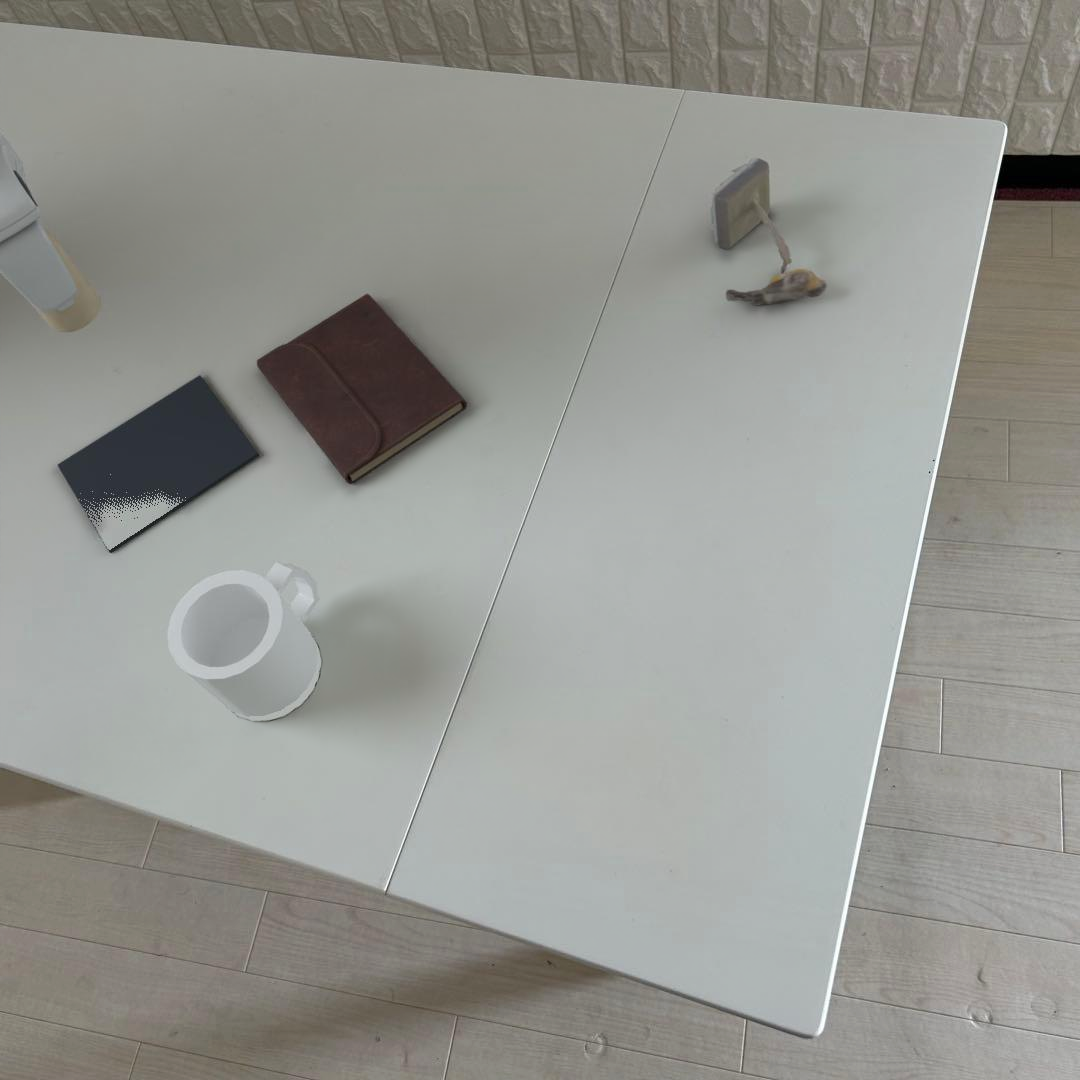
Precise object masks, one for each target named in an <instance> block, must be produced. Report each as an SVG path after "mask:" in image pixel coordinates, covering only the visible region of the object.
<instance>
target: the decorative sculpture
mask: <svg viewBox="0 0 1080 1080" xmlns="http://www.w3.org/2000/svg"><path fill="white" fill-rule="evenodd" d="M731 172H732V174H731V175H730V176H728V178H726V179H725V180H724V181H722V182H721V183H720V184H719V186H718V187H716V188H715V189H714V192H713V194H712V196H711V206H710V217H711V224H712V227H711V230H710V232H711V234H712V239H713V241H714V242H715V244H716V245H717V246H718V247H720V248H721V249H723V250H729V249H730V248H732V247H733V246H734V245H736V244H737V243H738V242H739V241H740V240H742V239H743V238H744V237H745V236H747V234H749V233H750V232H752V230H753V229H754V228H756V227H757V226H758V225H759V224H760V223H761V222H762V224H764V225H765V227H766V228H767V229H768V230H769V232H770V234H771V236H772V238H773V240H774V242H775V244H776V246H777V248H778V253H779V255H780V258H781V259H782V261H783V262H782V265H781V267H780V273H779V274H776V275H775V276H774V277H773V278H771V279H770V281H769V282H768V283H767V285H766V286H765V287H762V288H761V289H755V290H749V291H738V290H736V289H727V290H726V291H725V298H726V301H728V302H730V301H734V302H736V301H742V302H751V303H752V304H753V305H754V306H760V305H764V304H767V305H774V304H778V303H782V302H785V301H789V300H798V299H803V298H805V297H809V298H816V297H819V296H821V295H823V294H824V293H825V292H826V290H827V288H828V287H827V286H828V285H827V282H828V281H827V280H825V279H820V278H819V277H817V275H816V274H815V273H814V272H813V271H812V270H810V269H803V268H798V269H794V270H791V271H789V272H787V269H788V265H790V264H791V263H792V261H793V260H792V258H791V251H790V247H789V246H788V245H787V244H786V241H785V239H784V238H783V237H782V235H780V233H779V231H778V229H777V228H776V226H775V224H774V223H773V221H772V220H771V219H770V217H769V215H770V212H771V202H770V201H771V199H770V198H771V196H770V195H771V194H770V193H771V191H770V165H769V162H767V161H766V160H764V159H761V158H758V157H754V158H751V159H750V160H749V161H748V163H744V164H742V165H741V166H738V167H736V168H733V169H731Z"/></svg>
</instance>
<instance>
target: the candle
mask: <svg viewBox="0 0 1080 1080" xmlns="http://www.w3.org/2000/svg"><path fill="white" fill-rule="evenodd" d="M44 230H45V232H46V233H47V235H48V237H49V239H50V240H51V242H52V244H53V246H54V247H55V249H56V251H57V252H58V254H59V256H60V258H61V259H62V261H63V263H64V265H65V266H66V268H67V270H68V272H69V273H70V275H71V277H72V279H73V281H74V283H75V285H76V287H77V291H78V294H77V296H76V297H75V298H74V304H73V305H71V306H70V307H68V308H66V309H65V310H63V311H59V310H57V309H55V310H54V311H52V312H50V313H44V312H42V311H40V310H38V309H37V308H36V307H35V306H33V305H32V307H33V308H34V310H35V311H37V313H38V314H39V315H40V317H41V318H42V319H43V320H44V321H45V322H46V324H47V325H48V326H49V327H50V328H52V329H53V331H55V332H58V333H73V332H77V331H79V330H81V329H84V328H85V327H87V326H88V325H90V324H91V323H92V322H93V321H94V320H95V319H96V317H97V316H98V314H99V312H100V309H101V300H100V298H99V295H98V294H97V292H96V291H95V289H94V288H93V287H92V285H91V284H90V283H89V281H88V280H87V278H86V277H85V275H83V273H82V272H81V270H80V269H79V268H78V266H77V265H76V264H75V262H74V261H73V260H72V258H71V257H70V256H69V254H68V252H66V250H65V249H64V247H63V246H62V245H61V243H60V242H59V240H58V239H57V238H56V235H54V234H53V232H51V230H49V229H46V228H44Z"/></svg>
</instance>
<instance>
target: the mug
mask: <svg viewBox="0 0 1080 1080" xmlns="http://www.w3.org/2000/svg"><path fill="white" fill-rule="evenodd" d="M292 579H293V580H294V582H295V585H296V589H297V590H296V591H297V594H296V595H295V597H294V598H293V599H292V601H291V602H290V605H289V604H288V603H287V601H286V600H285V599H284V597H283V596H282V593H283V592H284V590H285V589H286V587H287V586H288V585H289V583H290V582H291V581H292ZM319 600H320V596H319V591H318V585H317V581H316V580H315V579H314V578H313V577H312V575H311V574H310V573H309V572H308V570H306V569H304V568H301V567H299V566H297V565H294V564H292V563H288V562H279V561H275V562H274V564H273V565H272V566H271V568H270V570H269V571H268V572H267V573H266V575H265V577H263V576H262V575H260V574H258V573H254V572H251V571H248V570H244V569H241V570H225V571H222V572H219V573H215V574H213V575H209V576H207V577H205V578H204V579H202V580H201V581H199V582H198V583H196V584H195V585H193V586H192V587H191V588H190V589H189V590H188V591H187V592H186V593H185V594H184V595H183V596H182V597H181V598H180V600H179V601H178V602H177V604H176V606H175V607H174V610H173V612H172V613H171V615H170V616H169V617H170V618H169V623H168V628H167V632H166V637H167V646H168V652H169V653H170V655H171V656H172V659H173V660H174V663H175V664H176V665H177V666H178V667H179V668H180V669H181V670H182V671H184V672H185V673H186V674H187V675H188V676H189V677H190V678H192V679H193V680H194V681H195V682H196V683H197V684H198V685H199V686H201V687H202V688H203V689H204V690H205V691H207V692H208V693H209V694H210V695H211V696H212V697H214V699H216V700H217V701H218V702H219V703H220V702H221V703H220V704H221V705H223V706H224V707H225V706H226V707H227V708H228V709H227V708H226V707H225V708H226V709H227V710H229V712H231V711H232V712H234V713H238V714H241V715H244V716H247V717H249V716H265V715H268V714H271V713H274V712H277V711H281V710H282V709H284V708H285V707H286V706H288V705H290V704H291V703H293V702H294V701H296V700H297V699H298V698H299V697H300V695H301V694H302V693H303V692H304V691H305V690H306V689H307V687H308V686H309V684H310V682H311V680H312V678H313V676H314V674H315V672H316V666H317V660H318V652H317V647H316V642H317V641H316V642H315V640H316V639H315V637H314V636H313V634H312V633H311V631H310V630H309V629H308V628H307V626H306V625H305V624H304V623H305V622H306V620H307V619H308V618H309V616H310V614H311V613H312V612H313V610H314V609H315V607H316V605H317V604H318V602H319ZM309 631H310V632H309ZM311 634H312V635H311ZM312 636H313V637H314V638H313V637H312ZM314 639H315V640H314ZM232 712H231V713H232ZM234 713H233V714H234Z"/></svg>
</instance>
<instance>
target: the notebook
mask: <svg viewBox="0 0 1080 1080" xmlns="http://www.w3.org/2000/svg"><path fill="white" fill-rule="evenodd" d="M256 366H257V368H258V370H259V371H260V372H261V373H262V375H263V376H264V377H265V379H266V380H267V381H268V383H269V384H270V385H271V387H272V388H273V389H274V390H275V392H276V393H277V394H278V395H279V397H280V398H281V399H282V401H283V402H284V403H285V405H286V406H287V407H288V409H289V410H290V411H291V412H292V413H293V415H294V416H295V418H296V419H297V420H298V421H299V423H300V424H301V425H302V426H303V428H304V429H305V430H306V432H307V433H308V434H309V435H310V437H311V438H312V439H313V441H314V442H315V443H316V445H317V446H318V447H319V448H320V450H321V451H322V452H323V454H324V455H325V457H327V459H328V460H329V461H330V463H331V465H333V467H334V468H335V469H336V470H337V472H338V473H339V475H340V476H341V477H342V478H343V479H344V481H345V482H346V483H347V484H349V485H353V484H354V483H356V482H358V481H359V480H360V479H362V478H364V477H366V476H367V475H368V474H370V473H371V472H372V471H375V470H376V469H377V468H379V467H380V466H382V465H384V464H385V463H386V462H388V461H390V460H391V459H392V458H394V457H395V456H396V455H399V453H402V452H403V451H404V450H406V449H407V448H409V447H410V446H412V445H413V444H415V443H416V442H418V441H419V440H421V439H422V438H424V437H425V436H428V434H430V433H431V432H433V431H434V430H436V429H438V428H439V427H441V426H442V425H444V424H445V423H447V422H448V421H450V420H451V419H453V418H454V417H456V416H457V415H459V414H460V413H461V412H463V411H465V410H466V409H467V406H468V402H467V400H466V399H464V397H463V396H462V395H461V394H460V392H458V390H456V388H455V387H454V386H453V385H452V384H451V383H450V382H449V380H447V379H446V377H445V376H444V375H443V374H442V373H441V372H440V370H438V369H437V367H436V366H435V365H434V364H433V363H432V362H431V361H430V360H429V358H428V357H426V355H425V354H424V353H423V352H422V351H421V349H419V347H418V346H417V345H416V344H415V343H414V342H413V340H411V339H410V338H409V336H408V335H407V334H406V333H405V332H404V331H403V330H402V329H401V328H400V327H399V325H398V324H397V323H396V322H395V321H394V320H393V319H392V317H390V315H389V314H388V313H387V312H386V311H385V310H384V309H383V308H382V307H381V305H380V304H378V302H377V301H376V300H375V299H374V298H373V297H372V295H370V294H368V293H365V294H364V295H362V296H360V297H359V298H357V299H356V300H354V301H353V302H351V303H350V304H348V305H346V306H345V307H343V308H341V309H339V310H338V311H336V312H335V313H333V314H332V315H330V316H328V317H327V318H325V319H324V320H322V321H321V322H319V323H317V324H316V325H313V326H312V327H310V328H309V329H307V330H306V331H305V332H303V333H301V334H300V335H298V336H296V337H295V338H293V339H291V340H289V341H288V342H287V343H284V344H281V345H279V346H277V347H275V348H274V349H272V350H270V351H268V352H267V353H266V354H264V355H262V356H261V357H259V358H258V359H256Z"/></svg>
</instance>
